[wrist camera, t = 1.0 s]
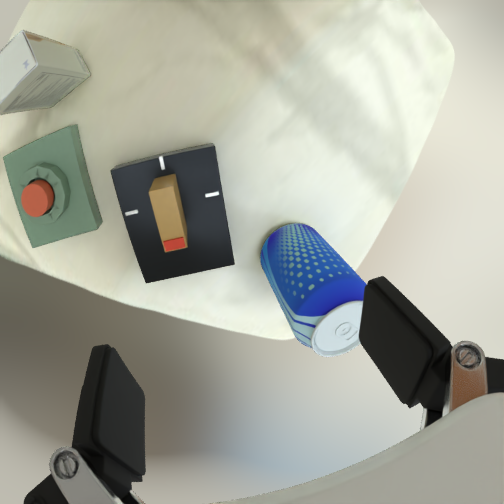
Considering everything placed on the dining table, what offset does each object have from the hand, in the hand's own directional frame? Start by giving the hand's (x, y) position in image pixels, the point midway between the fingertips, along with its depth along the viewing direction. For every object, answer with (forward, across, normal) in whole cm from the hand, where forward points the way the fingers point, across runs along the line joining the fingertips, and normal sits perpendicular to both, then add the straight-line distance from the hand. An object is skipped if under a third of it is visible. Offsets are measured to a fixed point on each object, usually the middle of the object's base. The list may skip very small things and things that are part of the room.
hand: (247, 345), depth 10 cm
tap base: (+25, +4, +2) cm, 25 cm away
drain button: (+21, +18, -5) cm, 28 cm away
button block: (+24, +18, -5) cm, 31 cm away
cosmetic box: (+24, +13, -17) cm, 32 cm away
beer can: (+25, -9, +11) cm, 29 cm away
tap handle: (+22, +4, +1) cm, 22 cm away
